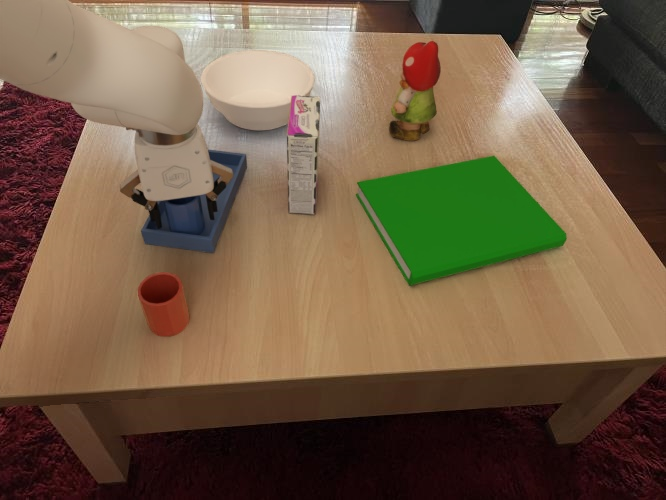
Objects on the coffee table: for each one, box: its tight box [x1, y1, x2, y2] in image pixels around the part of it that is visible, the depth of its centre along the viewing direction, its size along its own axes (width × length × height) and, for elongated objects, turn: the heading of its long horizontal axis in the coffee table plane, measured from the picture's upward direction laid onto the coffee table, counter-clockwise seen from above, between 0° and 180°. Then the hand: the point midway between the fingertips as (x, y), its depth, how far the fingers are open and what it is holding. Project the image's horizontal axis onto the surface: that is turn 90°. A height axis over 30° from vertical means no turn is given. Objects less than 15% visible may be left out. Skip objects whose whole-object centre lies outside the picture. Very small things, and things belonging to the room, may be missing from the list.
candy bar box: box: [286, 95, 321, 216], centre depth 87 cm, size 11×5×16 cm, turn 179°
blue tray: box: [140, 149, 248, 254], centre depth 89 cm, size 22×11×3 cm, turn 173°
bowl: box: [200, 49, 316, 131], centre depth 107 cm, size 22×22×8 cm
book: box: [355, 155, 568, 286], centre depth 90 cm, size 22×28×3 cm
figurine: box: [388, 40, 442, 141], centre depth 101 cm, size 11×9×20 cm
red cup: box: [136, 271, 190, 338], centre depth 71 cm, size 6×6×7 cm
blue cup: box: [163, 195, 205, 235], centre depth 83 cm, size 6×6×7 cm
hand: (185, 218), depth 84 cm, fingers open, 7 cm apart
